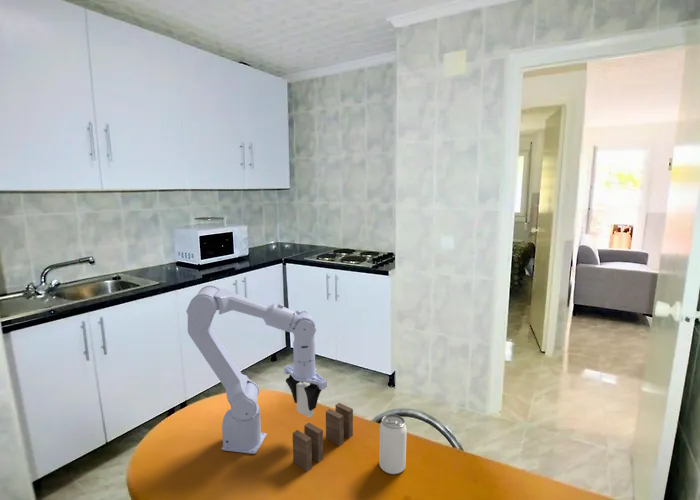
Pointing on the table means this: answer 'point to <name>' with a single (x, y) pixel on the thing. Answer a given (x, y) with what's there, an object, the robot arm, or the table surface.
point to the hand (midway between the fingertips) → (305, 405)
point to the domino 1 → (303, 400)
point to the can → (392, 444)
